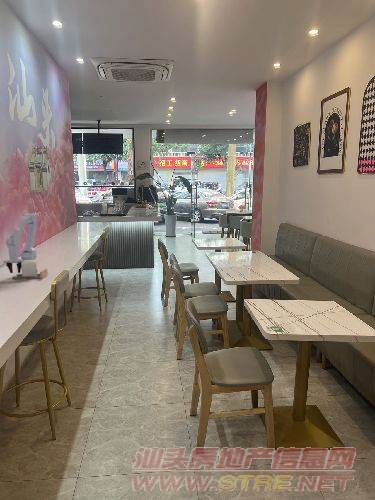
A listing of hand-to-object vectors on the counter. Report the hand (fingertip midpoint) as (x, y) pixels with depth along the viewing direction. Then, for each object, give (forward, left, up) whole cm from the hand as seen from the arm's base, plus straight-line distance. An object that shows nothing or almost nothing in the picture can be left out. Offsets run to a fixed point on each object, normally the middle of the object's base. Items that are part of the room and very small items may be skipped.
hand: (15, 272), depth 278 cm
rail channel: (0, +9, -4) cm, 10 cm away
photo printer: (-1, +10, -4) cm, 10 cm away
